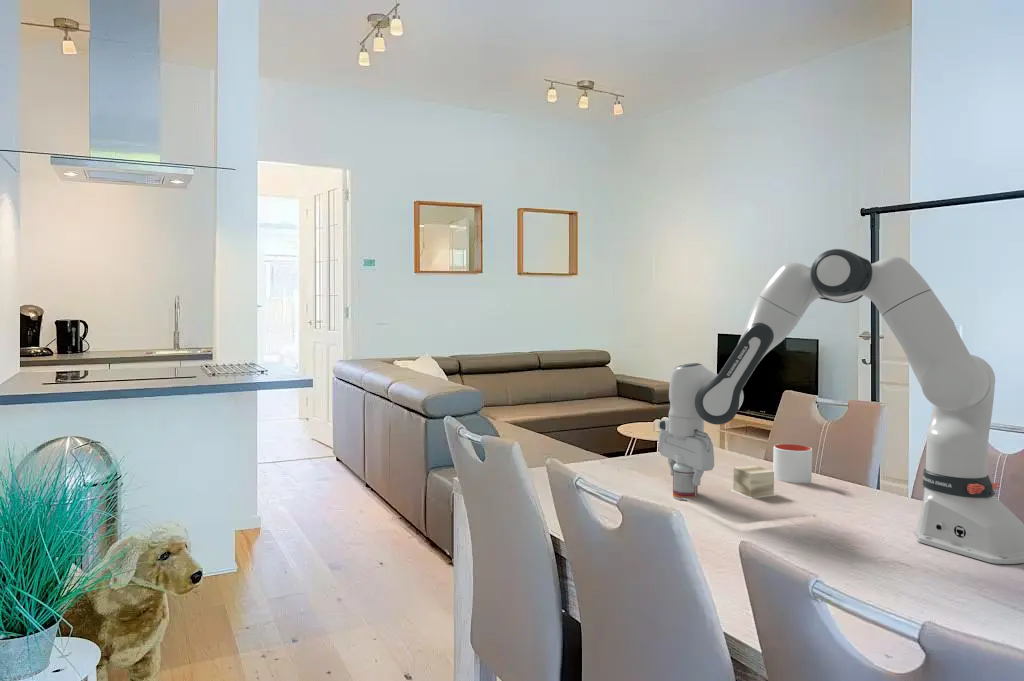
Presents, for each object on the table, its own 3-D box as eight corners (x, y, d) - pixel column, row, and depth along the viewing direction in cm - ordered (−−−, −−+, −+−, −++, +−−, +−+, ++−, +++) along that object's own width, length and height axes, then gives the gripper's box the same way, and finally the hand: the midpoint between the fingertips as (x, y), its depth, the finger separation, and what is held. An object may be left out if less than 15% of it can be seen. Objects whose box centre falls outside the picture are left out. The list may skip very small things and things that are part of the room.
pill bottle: (682, 493, 186) (683, 451, 185) (702, 498, 181) (703, 455, 180) (667, 498, 182) (668, 454, 181) (687, 503, 177) (688, 458, 177)
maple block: (773, 494, 180) (774, 471, 180) (750, 497, 178) (751, 473, 178) (755, 488, 187) (756, 465, 186) (733, 490, 184) (733, 467, 184)
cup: (817, 487, 192) (818, 451, 192) (780, 487, 193) (781, 451, 192) (803, 478, 202) (803, 443, 202) (767, 478, 203) (768, 443, 202)
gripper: (721, 433, 172) (720, 489, 173) (675, 419, 191) (674, 470, 192) (699, 434, 170) (697, 491, 171) (654, 421, 189) (653, 472, 190)
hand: (685, 480), depth 181 cm, fingers open, 8 cm apart
